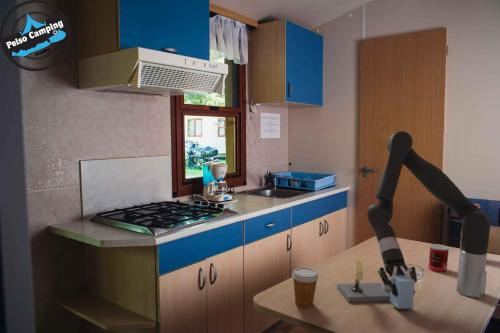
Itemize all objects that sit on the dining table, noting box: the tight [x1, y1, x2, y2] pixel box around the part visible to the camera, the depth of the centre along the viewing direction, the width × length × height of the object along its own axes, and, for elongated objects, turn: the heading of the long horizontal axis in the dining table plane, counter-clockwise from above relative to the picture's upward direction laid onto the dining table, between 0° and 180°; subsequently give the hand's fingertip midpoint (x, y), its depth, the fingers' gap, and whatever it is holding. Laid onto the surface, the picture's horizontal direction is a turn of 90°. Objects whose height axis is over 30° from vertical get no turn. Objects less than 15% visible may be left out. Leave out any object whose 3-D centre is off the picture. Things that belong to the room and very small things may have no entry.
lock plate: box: [336, 281, 391, 303], centre depth 152 cm, size 23×12×4 cm, turn 97°
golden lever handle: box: [353, 260, 364, 289], centre depth 146 cm, size 11×2×11 cm, turn 168°
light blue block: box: [389, 275, 416, 309], centre depth 141 cm, size 6×6×10 cm
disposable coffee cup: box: [291, 267, 320, 308], centre depth 142 cm, size 10×10×12 cm
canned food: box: [428, 243, 449, 273], centre depth 180 cm, size 8×8×11 cm
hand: (404, 295), depth 139 cm, fingers closed on light blue block, 5 cm apart
